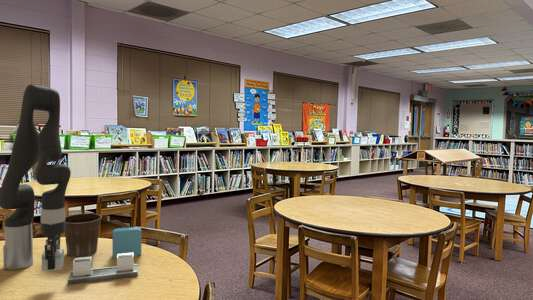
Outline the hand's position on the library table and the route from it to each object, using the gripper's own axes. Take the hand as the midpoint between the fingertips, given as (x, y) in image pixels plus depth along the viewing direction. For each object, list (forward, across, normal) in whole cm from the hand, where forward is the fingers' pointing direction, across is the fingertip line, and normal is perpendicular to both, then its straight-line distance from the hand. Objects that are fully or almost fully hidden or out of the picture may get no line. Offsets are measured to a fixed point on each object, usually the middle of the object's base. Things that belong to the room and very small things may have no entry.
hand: (52, 266), depth 126 cm
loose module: (+1, 0, 0) cm, 1 cm away
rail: (+7, -4, +17) cm, 19 cm away
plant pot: (+8, -33, +5) cm, 35 cm away
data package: (+8, -25, +24) cm, 36 cm away
